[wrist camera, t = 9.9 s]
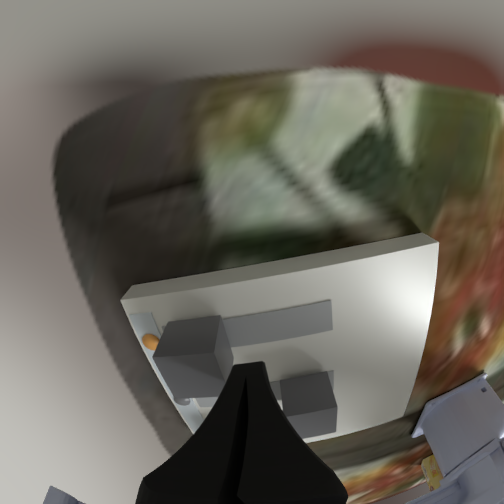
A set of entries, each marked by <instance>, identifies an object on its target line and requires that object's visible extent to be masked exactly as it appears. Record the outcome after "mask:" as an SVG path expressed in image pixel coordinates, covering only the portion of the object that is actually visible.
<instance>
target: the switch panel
mask: <svg viewBox="0 0 504 504" xmlns="http://www.w3.org/2000/svg"><path fill="white" fill-rule="evenodd" d="M438 249H439V242H438V241H436V240H434V239H433V238H431V237H429V236H427V235H426V234H424V233H418V234H413V235H408V236H403V237H398V238H393V239H388V240H383V241H378V242H373V243H367V244H362V245H357V246H352V247H347V248H341V249H336V250H331V251H325V252H320V253H315V254H309V255H304V256H299V257H293V258H288V259H282V260H277V261H271V262H266V263H260V264H255V265H249V266H243V267H238V268H232V269H226V270H220V271H215V272H209V273H203V274H197V275H191V276H185V277H180V278H174V279H168V280H162V281H156V282H149V283H143V284H137V285H132V286H131V287H130V289H129V290H128V291H127V292H126V294H125V295H124V296H123V297H122V299H121V300H120V301H121V303H122V305H123V308H124V310H125V312H126V315H127V317H128V319H129V321H130V324H131V326H132V328H133V330H134V332H135V334H136V336H137V338H138V340H139V342H140V344H141V346H142V348H143V350H144V352H145V354H146V356H147V358H148V360H149V362H150V364H151V366H152V368H153V369H154V371H155V373H156V375H157V377H158V378H159V380H160V382H161V384H162V385H163V387H164V389H165V391H166V392H167V394H168V396H169V397H170V399H171V401H172V402H173V404H174V405H175V407H176V409H177V410H178V412H179V413H180V415H181V416H182V418H183V420H184V421H185V423H186V424H187V426H188V427H189V428H190V430H191V431H192V433H193V434H194V433H195V432H196V430H197V429H198V428H199V426H200V425H201V424H202V422H203V421H204V420H205V418H206V417H207V415H208V414H209V412H210V410H211V409H212V407H213V406H214V404H215V402H216V400H217V399H218V397H206V398H174V396H173V395H172V393H171V391H170V389H169V388H168V386H167V384H166V382H165V381H164V379H163V377H162V375H161V373H160V371H159V370H158V368H157V366H156V364H155V362H154V360H153V358H152V356H153V354H154V352H155V349H156V347H157V345H158V343H159V340H160V338H161V336H162V334H163V331H164V329H165V327H166V325H167V323H168V322H169V321H178V320H186V319H194V318H202V317H209V316H217V315H221V317H222V321H223V324H224V327H225V331H226V334H227V337H228V340H229V344H230V347H231V350H232V353H233V356H234V361H233V365H234V364H243V363H251V362H258V361H263V362H265V365H266V369H267V373H268V378H269V382H270V386H271V389H272V391H273V393H274V395H275V398H276V400H277V401H278V403H279V405H280V407H281V409H282V411H283V408H282V398H281V389H280V380H282V379H288V378H294V377H299V376H305V375H310V374H315V373H320V372H324V371H327V373H328V376H329V379H330V382H331V386H332V389H333V393H334V396H335V399H336V403H337V406H338V409H337V427H336V432H334V433H330V434H325V435H321V436H316V437H310V438H305V439H303V441H304V442H305V443H308V442H314V441H319V440H324V439H328V438H333V437H337V436H341V435H345V434H349V433H353V432H356V431H360V430H364V429H367V428H370V427H374V426H377V425H380V424H383V423H386V422H389V421H392V420H394V419H397V418H400V417H403V415H404V413H405V410H406V407H407V404H408V402H409V399H410V396H411V393H412V389H413V386H414V383H415V380H416V376H417V373H418V369H419V366H420V362H421V358H422V354H423V350H424V346H425V341H426V337H427V332H428V327H429V322H430V316H431V311H432V304H433V298H434V291H435V283H436V274H437V263H438Z"/></svg>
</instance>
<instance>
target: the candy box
mask: <svg viewBox="0 0 504 504" xmlns="http://www.w3.org/2000/svg"><path fill="white" fill-rule="evenodd" d="M421 468H422V471H423V473H424V476H425V478H426V481H427V483H428V486H429V488H430V491H431V492H432V491H434V490H436V489H438V488H439V486H441V485H440V482H439V481H440V480H442V479H443V475H442V473H441V470H440V468H439V466H438V463H437V461H436V459H435V457H434V454H432V455H431V456H429V457H427V458H425V459H423V461H422V464H421Z"/></svg>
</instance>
